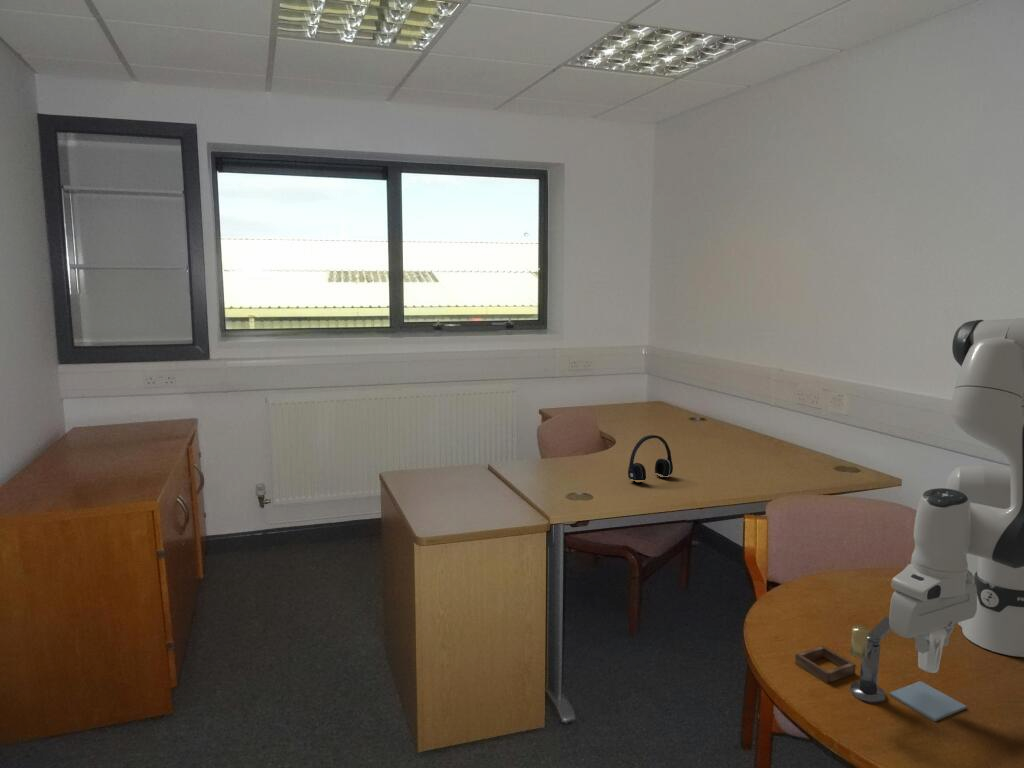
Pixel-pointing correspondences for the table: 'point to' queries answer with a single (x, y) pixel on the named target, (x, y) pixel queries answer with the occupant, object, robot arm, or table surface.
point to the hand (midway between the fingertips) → (931, 647)
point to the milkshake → (932, 651)
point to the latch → (868, 638)
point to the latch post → (869, 679)
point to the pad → (927, 701)
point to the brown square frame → (827, 676)
